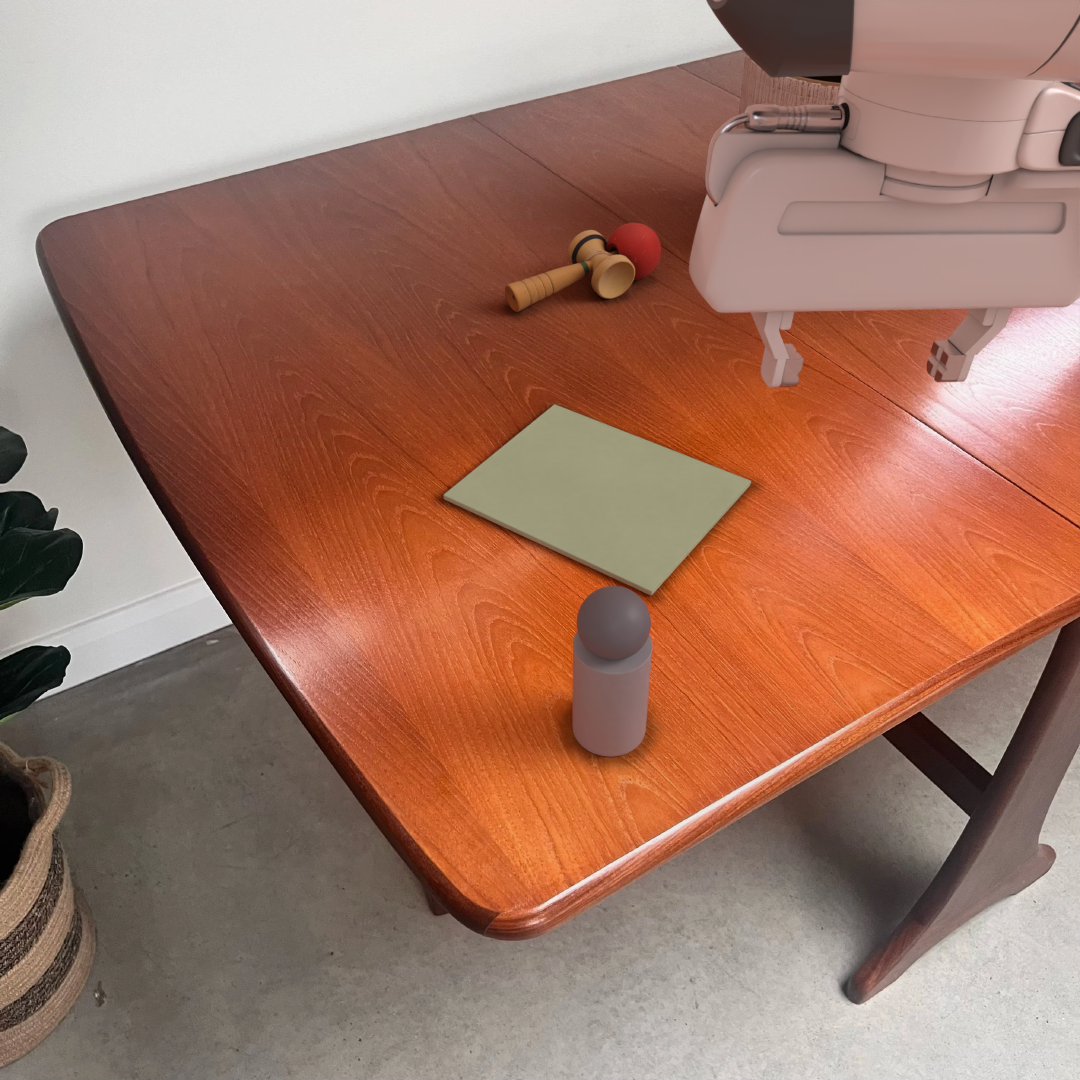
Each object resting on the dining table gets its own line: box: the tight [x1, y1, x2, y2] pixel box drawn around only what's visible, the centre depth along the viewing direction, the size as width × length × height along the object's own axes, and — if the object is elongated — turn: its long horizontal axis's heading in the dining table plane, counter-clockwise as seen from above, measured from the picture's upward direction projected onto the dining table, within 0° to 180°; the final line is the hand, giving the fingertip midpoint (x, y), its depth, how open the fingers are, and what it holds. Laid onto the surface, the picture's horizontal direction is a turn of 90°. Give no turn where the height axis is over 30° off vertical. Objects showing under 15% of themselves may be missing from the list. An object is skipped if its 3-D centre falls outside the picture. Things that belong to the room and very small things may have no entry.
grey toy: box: [572, 585, 654, 757], centre depth 64 cm, size 5×5×12 cm
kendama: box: [504, 222, 662, 313], centre depth 111 cm, size 8×6×18 cm
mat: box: [443, 403, 752, 596], centre depth 86 cm, size 20×16×1 cm
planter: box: [736, 52, 842, 129], centre depth 115 cm, size 22×22×20 cm
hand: (862, 379), depth 55 cm, fingers open, 8 cm apart
